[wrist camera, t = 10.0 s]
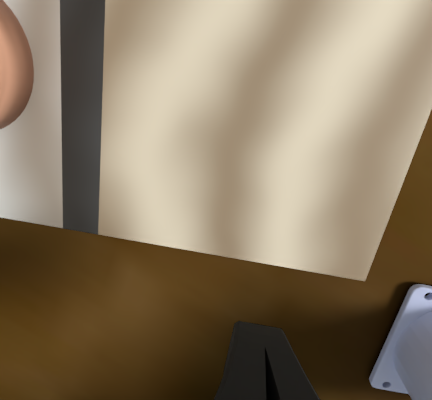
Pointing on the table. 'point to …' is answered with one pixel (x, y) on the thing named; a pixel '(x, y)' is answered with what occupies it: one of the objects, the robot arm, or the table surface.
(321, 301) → the table surface
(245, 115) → the board
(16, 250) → the table surface
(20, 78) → the puck
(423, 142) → the table surface
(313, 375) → the table surface
